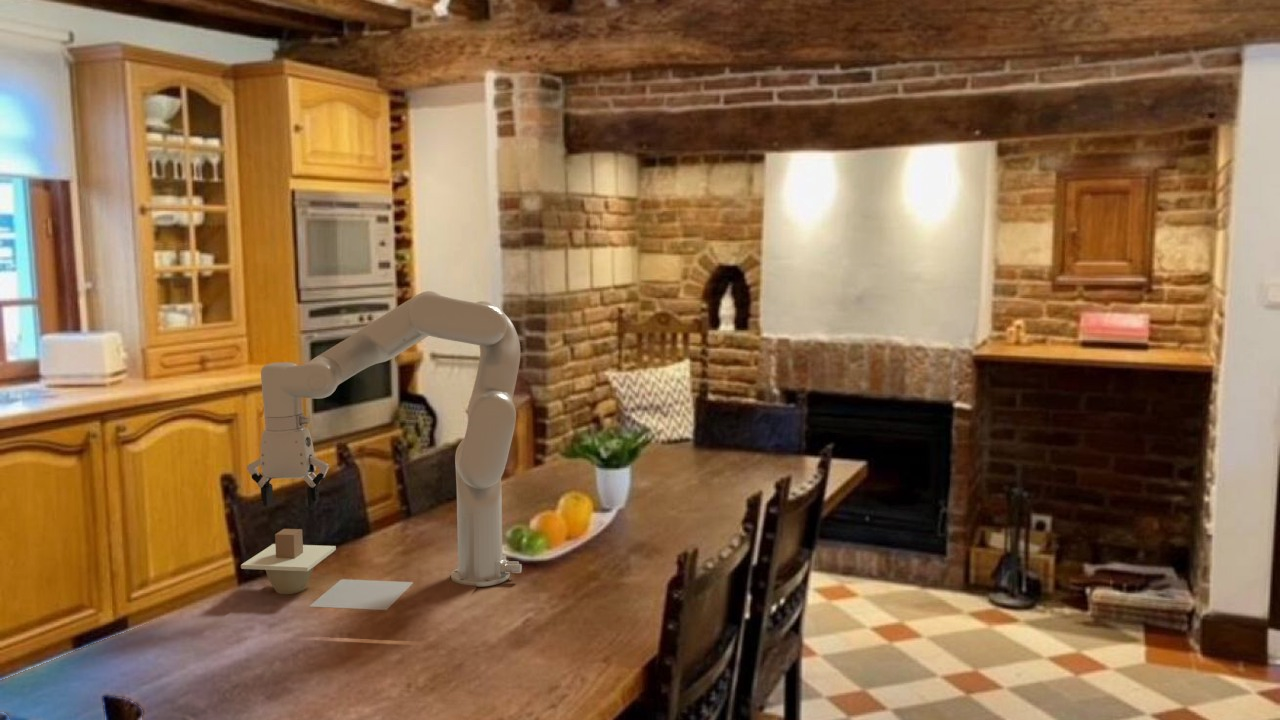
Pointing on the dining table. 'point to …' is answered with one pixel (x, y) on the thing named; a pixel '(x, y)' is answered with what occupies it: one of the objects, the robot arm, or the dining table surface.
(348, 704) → the dining table surface
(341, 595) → the mat
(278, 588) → the flower pot
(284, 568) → the lid
